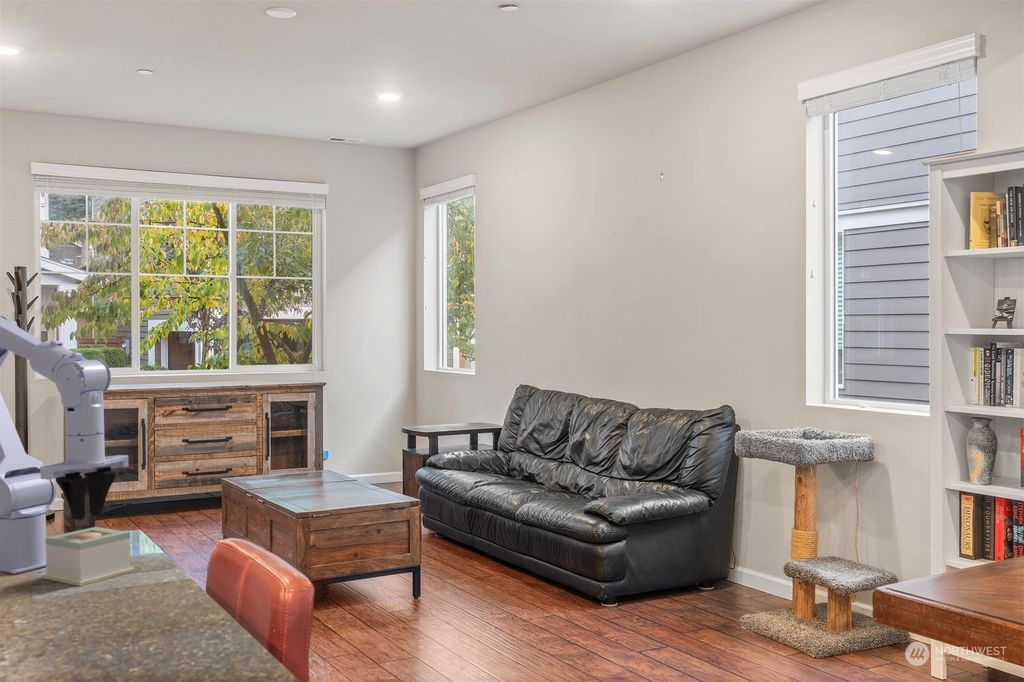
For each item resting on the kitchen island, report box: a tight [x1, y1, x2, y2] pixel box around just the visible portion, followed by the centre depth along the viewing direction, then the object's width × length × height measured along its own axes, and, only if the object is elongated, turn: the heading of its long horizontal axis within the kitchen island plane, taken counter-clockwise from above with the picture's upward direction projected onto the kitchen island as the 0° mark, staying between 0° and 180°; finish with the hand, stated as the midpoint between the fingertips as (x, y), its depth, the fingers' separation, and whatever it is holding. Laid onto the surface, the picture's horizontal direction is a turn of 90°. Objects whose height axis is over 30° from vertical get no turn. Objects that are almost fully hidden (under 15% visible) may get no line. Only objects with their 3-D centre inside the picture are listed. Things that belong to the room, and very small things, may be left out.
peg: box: [74, 532, 101, 540], centre depth 153 cm, size 4×4×6 cm
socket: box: [41, 526, 136, 587], centre depth 153 cm, size 10×10×6 cm
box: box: [63, 476, 96, 534], centre depth 177 cm, size 6×4×12 cm
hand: (87, 517), depth 153 cm, fingers open, 3 cm apart
